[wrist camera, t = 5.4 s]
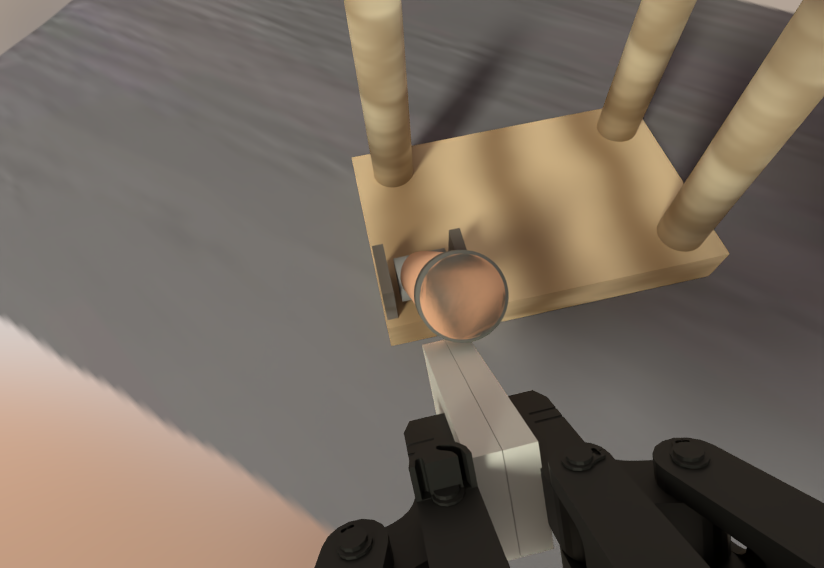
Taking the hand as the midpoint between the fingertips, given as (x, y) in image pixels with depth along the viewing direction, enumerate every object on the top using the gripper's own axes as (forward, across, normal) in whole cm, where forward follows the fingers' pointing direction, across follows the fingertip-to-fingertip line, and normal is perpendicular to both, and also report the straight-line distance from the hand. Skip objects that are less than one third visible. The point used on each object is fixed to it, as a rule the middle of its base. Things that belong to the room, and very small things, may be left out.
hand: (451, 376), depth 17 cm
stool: (+17, +8, +1) cm, 19 cm away
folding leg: (+12, +1, +1) cm, 12 cm away
